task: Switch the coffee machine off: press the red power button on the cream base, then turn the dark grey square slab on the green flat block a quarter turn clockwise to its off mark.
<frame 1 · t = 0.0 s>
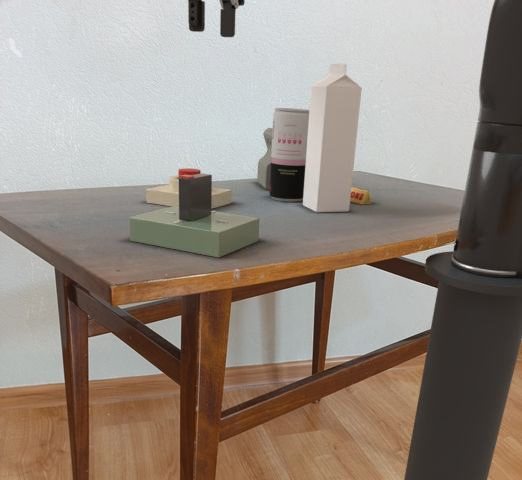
hand: (212, 34, 87), 25 cm above the table, tool pointing down, fingers open, 8 cm apart
grey irregular figure: (281, 187, 119), on the table
green flat block: (195, 241, 75), on the table
milk: (325, 209, 100), on the table
beverage can: (287, 199, 107), on the table
power button: (189, 175, 97), point 4 cm above the table, slide at 0.1 cm
dark grey square slab: (195, 195, 73), point 6 cm above the table, hinge at 90.0°
chocolate bar: (344, 199, 110), on the table
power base: (189, 202, 99), on the table
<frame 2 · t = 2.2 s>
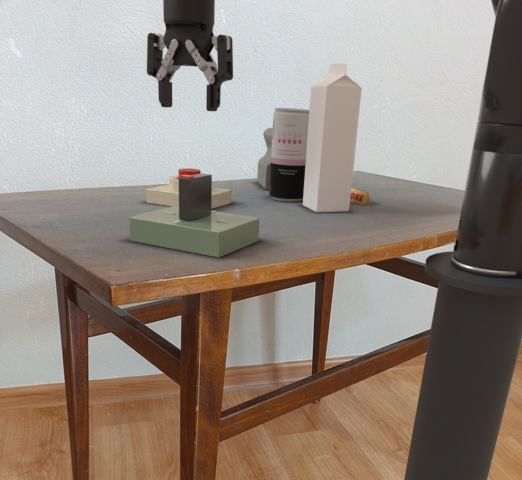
hand: (189, 109, 93), 15 cm above the table, tool pointing down, fingers open, 8 cm apart
nothing on the table moved.
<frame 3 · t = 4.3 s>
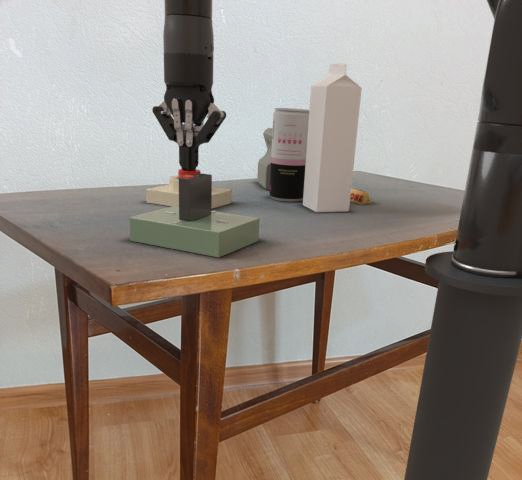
hand: (188, 170, 96), 5 cm above the table, tool pointing down, fingers closed
power button: (189, 175, 97), point 4 cm above the table, slide at 0.0 cm, touching gripper
everything else where it was.
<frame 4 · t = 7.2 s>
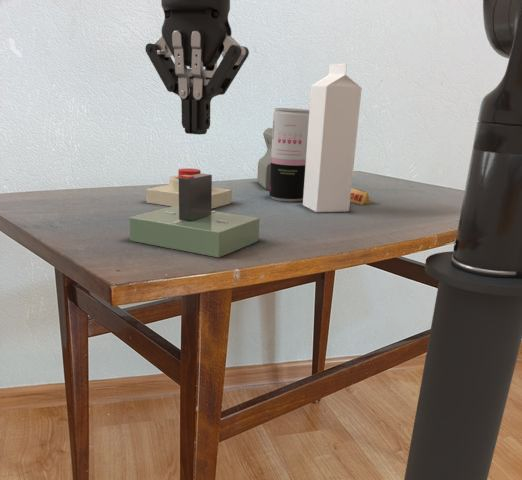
hand: (196, 133, 70), 13 cm above the table, tool pointing down, fingers closed
power button: (189, 175, 97), point 4 cm above the table, slide at 0.1 cm
everything else where it was.
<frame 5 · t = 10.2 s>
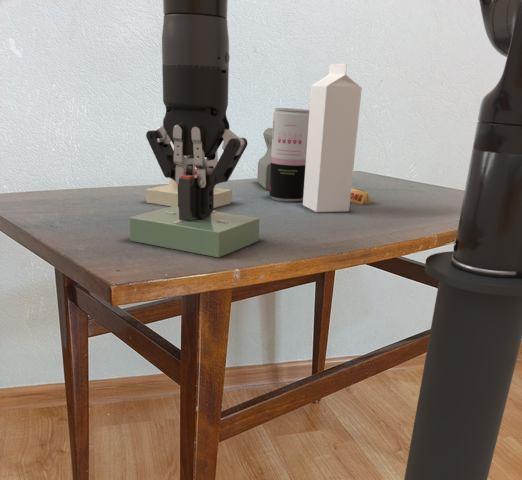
hand: (195, 215, 74), 3 cm above the table, tool pointing down, fingers closed on dark grey square slab
dark grey square slab: (195, 195, 73), point 6 cm above the table, hinge at 90.1°, touching gripper
everything else where it was.
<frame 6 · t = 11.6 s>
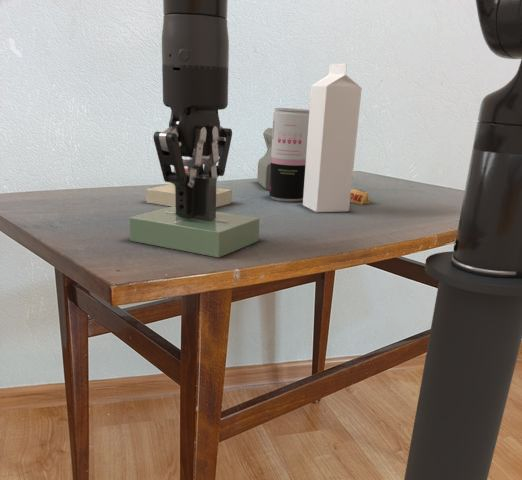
hand: (195, 214, 74), 3 cm above the table, tool pointing down, fingers open, 3 cm apart
dark grey square slab: (195, 195, 73), point 6 cm above the table, hinge at -0.1°
everything else where it was.
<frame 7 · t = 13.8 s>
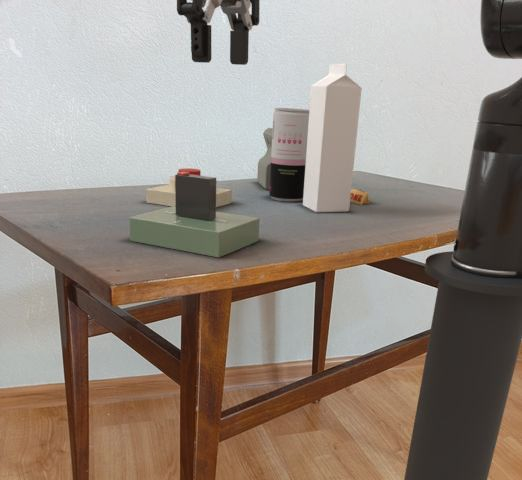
hand: (221, 63, 70), 21 cm above the table, tool pointing down, fingers open, 8 cm apart
nothing on the table moved.
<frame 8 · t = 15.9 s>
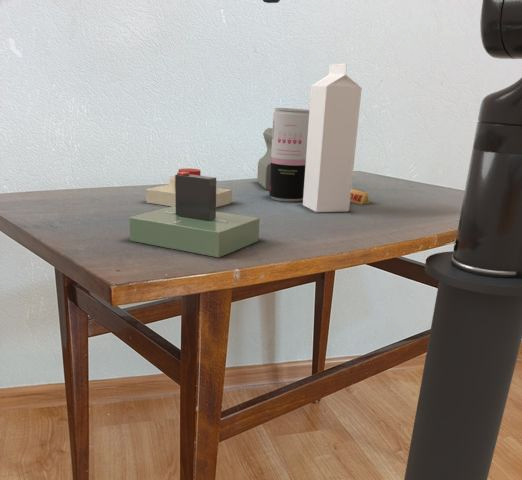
nothing on the table moved.
at the end: power button pushed in 1.1 cm at the most during the clip, back to where it started at the end; power button slide at 0.1 cm; dark grey square slab at +0° (first picture: +90°) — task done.
